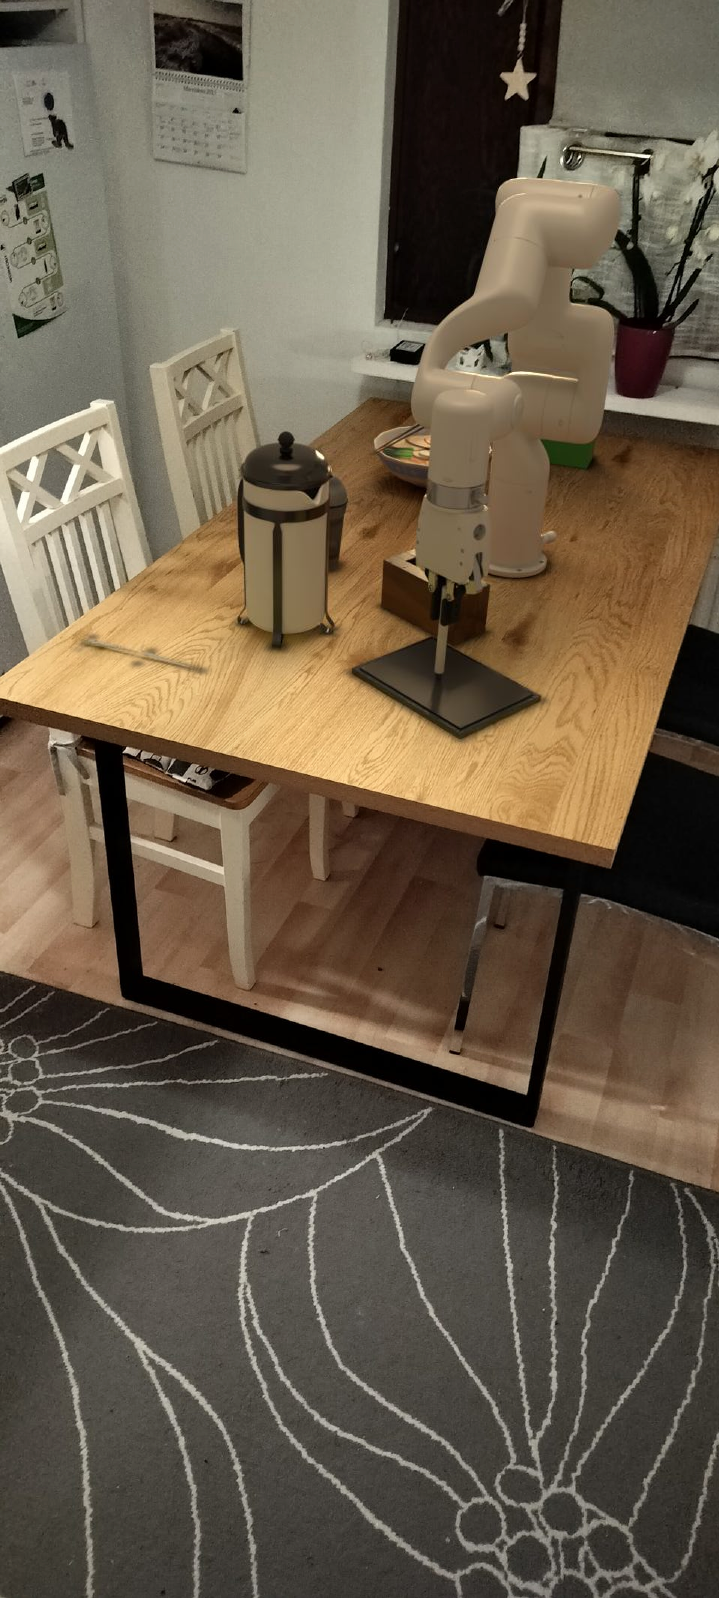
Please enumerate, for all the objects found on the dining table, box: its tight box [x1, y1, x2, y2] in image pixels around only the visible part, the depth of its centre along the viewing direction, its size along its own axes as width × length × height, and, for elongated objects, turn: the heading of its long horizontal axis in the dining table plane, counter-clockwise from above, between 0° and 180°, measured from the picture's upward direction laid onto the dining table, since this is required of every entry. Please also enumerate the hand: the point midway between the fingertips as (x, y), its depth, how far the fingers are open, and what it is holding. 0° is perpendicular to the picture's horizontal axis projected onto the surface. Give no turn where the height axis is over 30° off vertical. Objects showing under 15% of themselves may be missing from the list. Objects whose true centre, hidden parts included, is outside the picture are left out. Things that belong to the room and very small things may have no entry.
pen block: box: [380, 548, 491, 646], centre depth 183 cm, size 7×16×8 cm, turn 41°
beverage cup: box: [317, 447, 349, 572], centre depth 194 cm, size 7×7×20 cm
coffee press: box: [236, 430, 336, 649], centre depth 173 cm, size 17×16×30 cm
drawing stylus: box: [435, 585, 448, 679], centre depth 164 cm, size 1×1×14 cm
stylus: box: [84, 637, 193, 668], centre depth 172 cm, size 4×1×19 cm
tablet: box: [351, 636, 542, 739], centre depth 168 cm, size 22×16×1 cm
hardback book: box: [510, 358, 597, 470], centre depth 239 cm, size 18×7×24 cm, turn 71°
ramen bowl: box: [369, 422, 493, 489], centre depth 230 cm, size 25×23×8 cm
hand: (444, 619), depth 163 cm, fingers closed on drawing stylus, 1 cm apart
